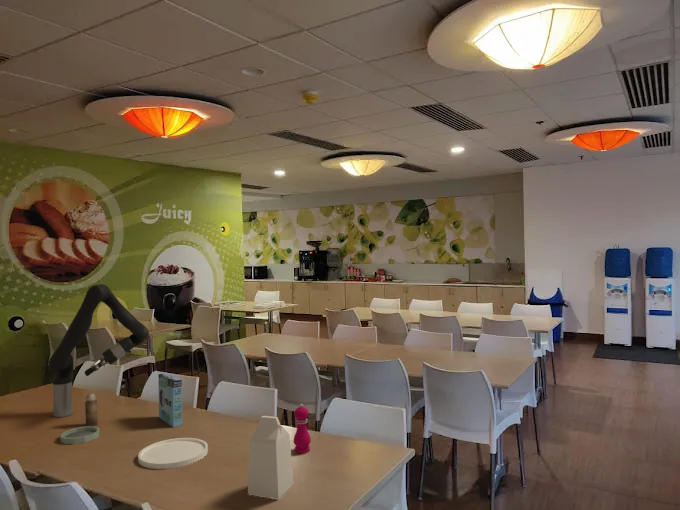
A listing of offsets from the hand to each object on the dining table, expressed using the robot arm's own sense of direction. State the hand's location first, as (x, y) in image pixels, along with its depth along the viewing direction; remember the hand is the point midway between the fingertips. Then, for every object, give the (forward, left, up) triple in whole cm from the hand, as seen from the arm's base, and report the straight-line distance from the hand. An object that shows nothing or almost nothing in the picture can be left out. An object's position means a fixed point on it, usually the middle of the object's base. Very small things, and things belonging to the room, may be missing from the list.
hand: (85, 374), depth 258 cm
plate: (+73, 0, -26) cm, 77 cm away
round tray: (+18, -12, -25) cm, 33 cm away
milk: (+130, 0, -25) cm, 132 cm away
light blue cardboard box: (+35, +25, -25) cm, 50 cm away
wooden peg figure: (+5, 0, -25) cm, 25 cm away
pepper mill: (+116, +33, -25) cm, 123 cm away
